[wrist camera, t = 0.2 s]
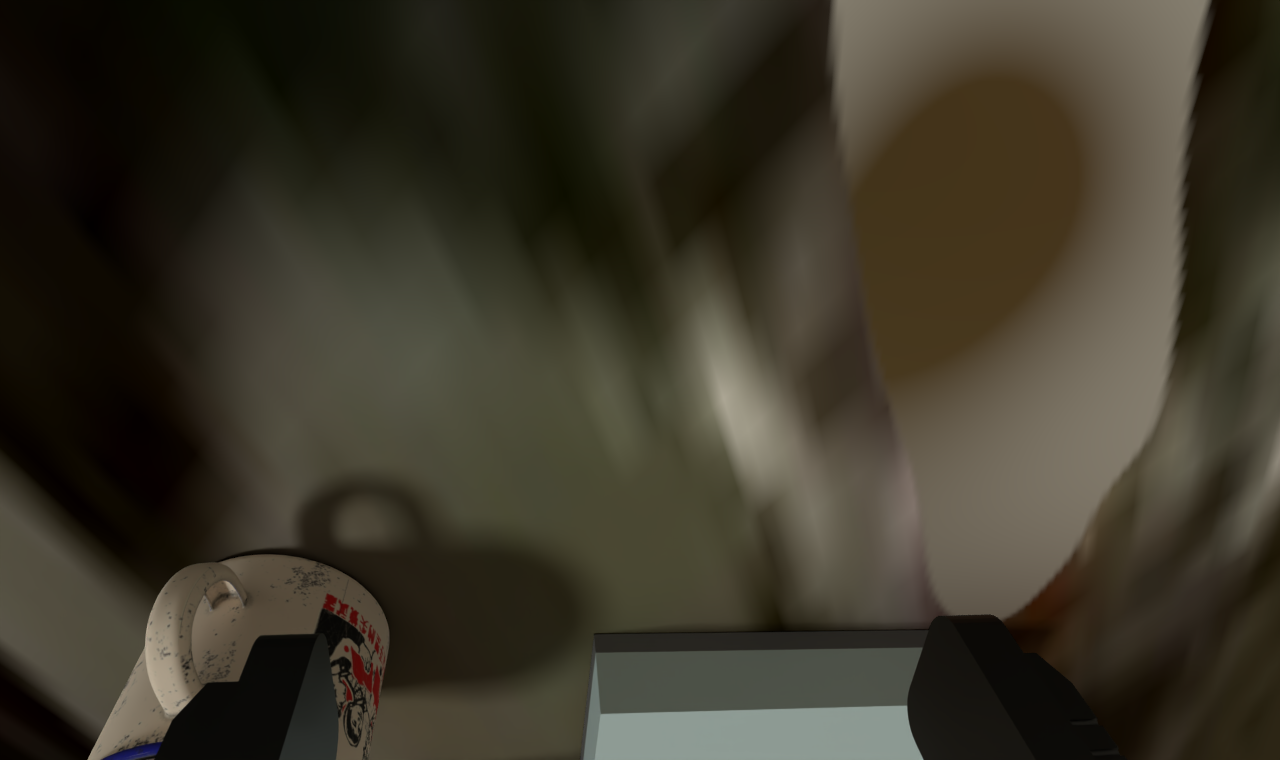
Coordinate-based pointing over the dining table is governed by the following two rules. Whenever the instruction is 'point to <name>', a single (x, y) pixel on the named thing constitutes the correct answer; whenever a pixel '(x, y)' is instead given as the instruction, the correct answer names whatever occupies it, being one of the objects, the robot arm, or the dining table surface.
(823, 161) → the dining table surface
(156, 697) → the teacup with lid
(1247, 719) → the dining table surface
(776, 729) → the outlet block
